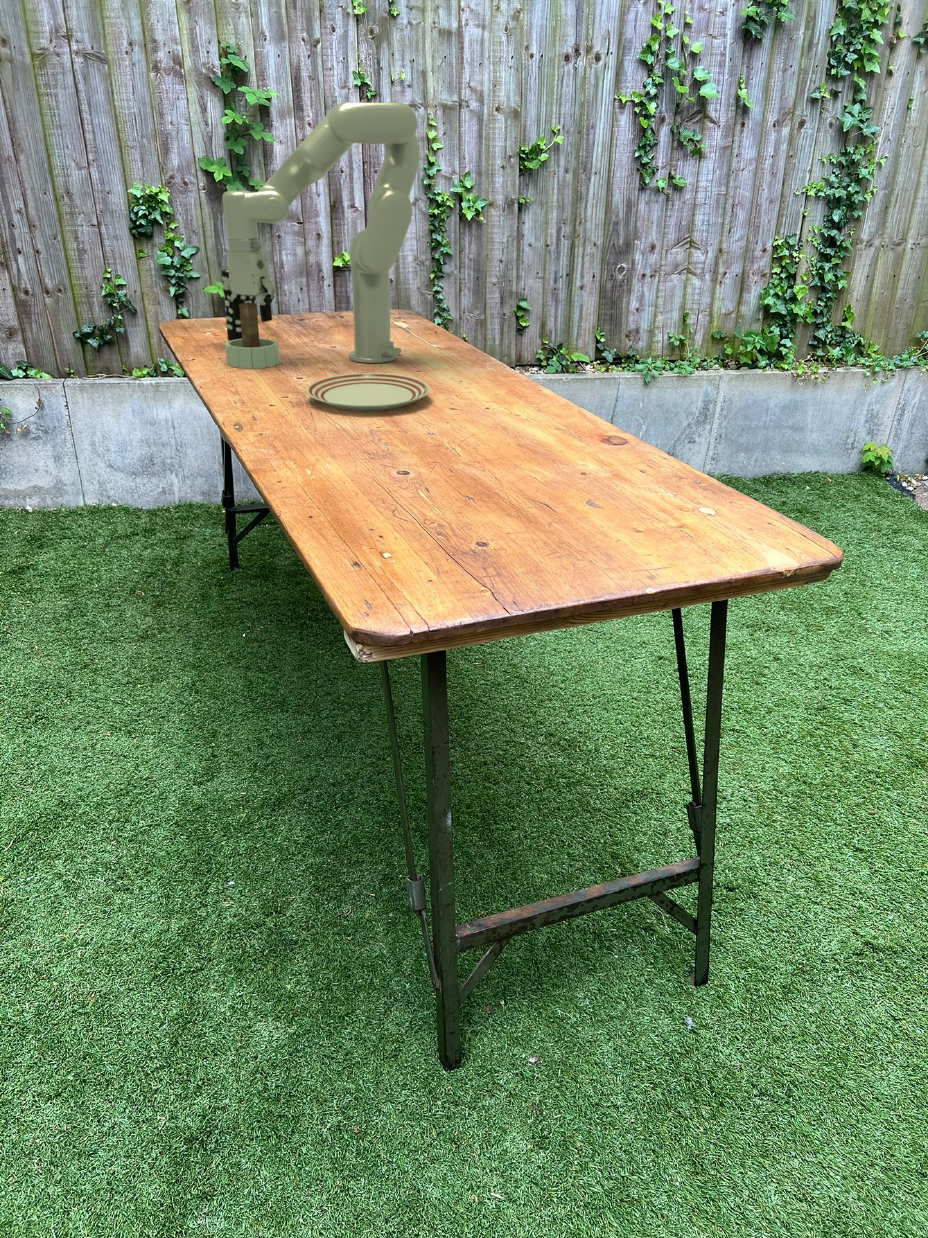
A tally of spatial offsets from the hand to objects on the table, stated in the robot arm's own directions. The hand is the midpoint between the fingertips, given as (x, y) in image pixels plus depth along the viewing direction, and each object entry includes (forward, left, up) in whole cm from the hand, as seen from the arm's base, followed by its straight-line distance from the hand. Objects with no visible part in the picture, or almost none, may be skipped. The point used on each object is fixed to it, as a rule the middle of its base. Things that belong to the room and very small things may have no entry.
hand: (253, 319), depth 230 cm
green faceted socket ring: (+1, +1, -11) cm, 11 cm away
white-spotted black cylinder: (+17, -11, -11) cm, 23 cm away
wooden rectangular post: (+1, +1, -10) cm, 10 cm away
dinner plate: (-46, +11, -11) cm, 49 cm away
